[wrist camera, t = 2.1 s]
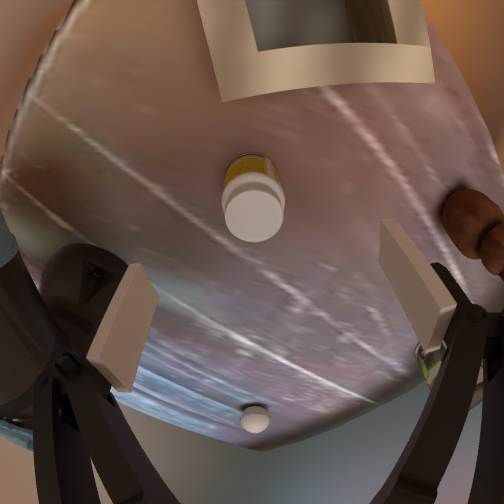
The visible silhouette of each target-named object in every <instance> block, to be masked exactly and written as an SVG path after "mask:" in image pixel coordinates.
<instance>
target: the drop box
mask: <svg viewBox="0 0 504 504" xmlns="http://www.w3.org/2000/svg"><path fill="white" fill-rule="evenodd" d="M197 3H198V7H199V11H200V15H201V19H202V23H203V27H204V31H205V35H206V39H207V43H208V47H209V51H210V55H211V59H212V63H213V67H214V71H215V75H216V79H217V83H218V87H219V91H220V95H221V100H222V103H223V102H227V101H231V100H236V99H241V98H245V97H250V96H256V95H261V94H267V93H273V92H279V91H285V90H292V89H299V88H307V87H316V86H326V85H337V84H351V83H373V82H416V83H435V80H434V71H433V63H432V55H431V49H430V43H429V37H428V32H427V27H426V22H425V17H424V13H423V9H422V5H421V1H420V0H197Z"/></svg>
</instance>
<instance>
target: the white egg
mask: <svg viewBox="0 0 504 504" xmlns="http://www.w3.org/2000/svg"><path fill="white" fill-rule="evenodd" d="M238 415H239V414H238ZM240 421H241V425H242V426H243V428H244V429H245V430H247V431H248V432H252V433H259V432H262V431H263V430H265V429H266V428H267V426H268V425H269V421H270V417H269V414H268V412H267V411H266V410H265V409H264V408H262V407H260V406H251V407H248V408H246V409H245V410H244V411H243V412H242V414H241V418H240Z"/></svg>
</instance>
